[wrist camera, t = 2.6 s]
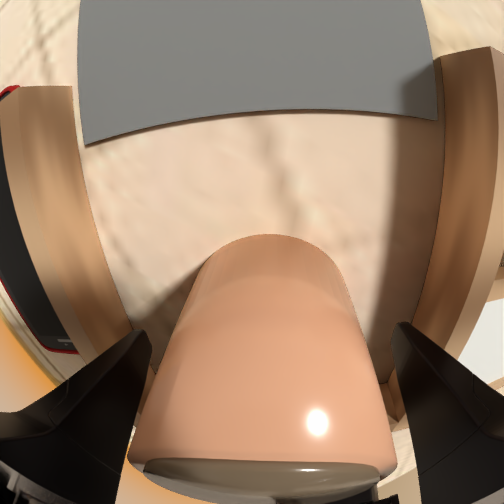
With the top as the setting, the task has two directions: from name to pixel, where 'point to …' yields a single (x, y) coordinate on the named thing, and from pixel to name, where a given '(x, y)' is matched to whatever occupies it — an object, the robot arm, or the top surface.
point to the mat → (248, 59)
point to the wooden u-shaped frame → (100, 280)
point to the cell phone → (25, 272)
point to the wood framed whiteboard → (488, 338)
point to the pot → (266, 385)
